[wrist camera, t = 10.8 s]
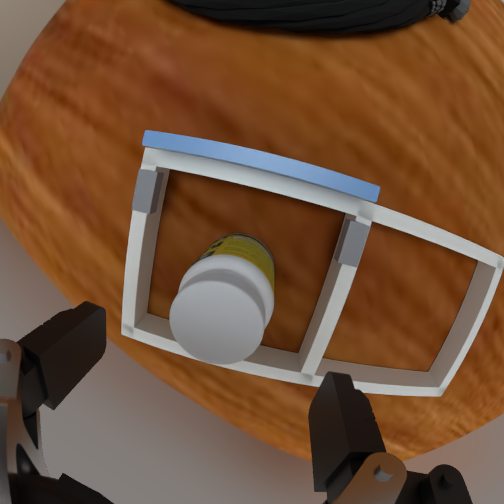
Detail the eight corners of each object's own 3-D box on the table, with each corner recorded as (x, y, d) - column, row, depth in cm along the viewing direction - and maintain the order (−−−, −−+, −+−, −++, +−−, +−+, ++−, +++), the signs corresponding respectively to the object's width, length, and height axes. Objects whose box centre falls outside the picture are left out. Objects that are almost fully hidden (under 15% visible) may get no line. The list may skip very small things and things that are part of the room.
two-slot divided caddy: (491, 242, 17) (529, 256, 12) (430, 380, 21) (451, 413, 16) (163, 140, 18) (129, 128, 13) (135, 319, 21) (105, 351, 16)
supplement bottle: (223, 219, 19) (186, 247, 10) (287, 252, 19) (297, 305, 11) (194, 280, 20) (147, 341, 12) (253, 310, 20) (241, 387, 12)
